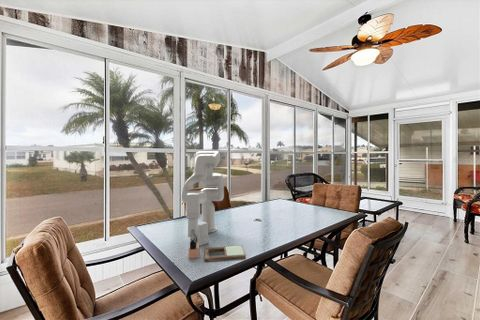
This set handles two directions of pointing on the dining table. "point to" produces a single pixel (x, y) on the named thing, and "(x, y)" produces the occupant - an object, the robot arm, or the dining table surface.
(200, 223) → the small box
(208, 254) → the hole board
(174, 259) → the dining table surface
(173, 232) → the dining table surface
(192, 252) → the terracotta cube
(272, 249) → the dining table surface
